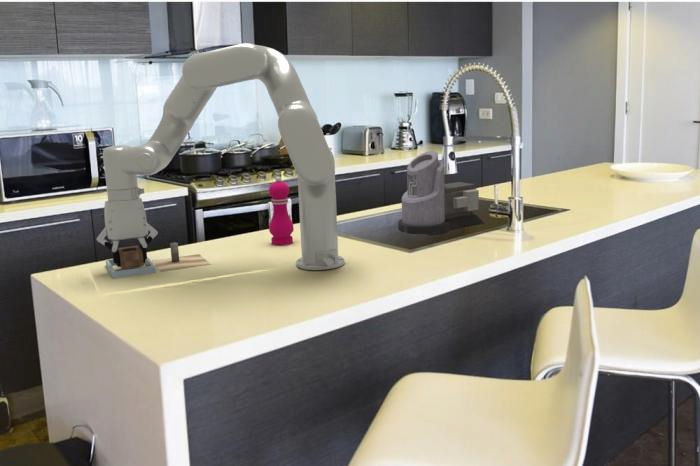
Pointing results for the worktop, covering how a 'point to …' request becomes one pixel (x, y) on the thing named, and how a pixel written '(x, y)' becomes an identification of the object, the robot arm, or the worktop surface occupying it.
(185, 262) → the stake board
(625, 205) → the worktop surface
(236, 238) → the worktop surface
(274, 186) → the pepper mill
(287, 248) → the worktop surface
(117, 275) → the tray
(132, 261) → the collar
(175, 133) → the robot arm
